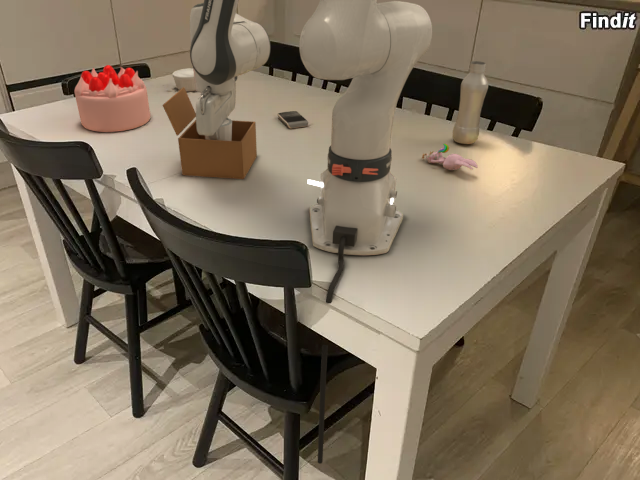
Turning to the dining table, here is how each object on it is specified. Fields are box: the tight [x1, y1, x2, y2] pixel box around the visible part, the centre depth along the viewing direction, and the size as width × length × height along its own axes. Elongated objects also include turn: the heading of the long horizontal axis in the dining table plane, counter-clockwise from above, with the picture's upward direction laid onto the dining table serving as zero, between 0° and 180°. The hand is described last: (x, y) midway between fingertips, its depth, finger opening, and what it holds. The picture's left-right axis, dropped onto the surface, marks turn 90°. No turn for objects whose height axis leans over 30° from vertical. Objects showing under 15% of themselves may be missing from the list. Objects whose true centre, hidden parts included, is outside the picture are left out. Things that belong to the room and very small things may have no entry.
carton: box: [177, 119, 258, 180], centre depth 133 cm, size 14×15×9 cm
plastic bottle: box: [452, 60, 489, 145], centre depth 141 cm, size 6×7×20 cm
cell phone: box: [277, 110, 309, 130], centre depth 161 cm, size 6×11×1 cm, turn 18°
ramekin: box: [172, 67, 197, 93], centre depth 189 cm, size 11×11×5 cm
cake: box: [74, 64, 151, 133], centre depth 159 cm, size 20×20×14 cm
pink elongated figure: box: [421, 143, 479, 171], centre depth 131 cm, size 6×6×15 cm
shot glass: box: [205, 118, 232, 141], centre depth 132 cm, size 7×7×7 cm
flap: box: [162, 87, 196, 136], centre depth 130 cm, size 14×7×1 cm
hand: (218, 140), depth 132 cm, fingers closed on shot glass, 5 cm apart
